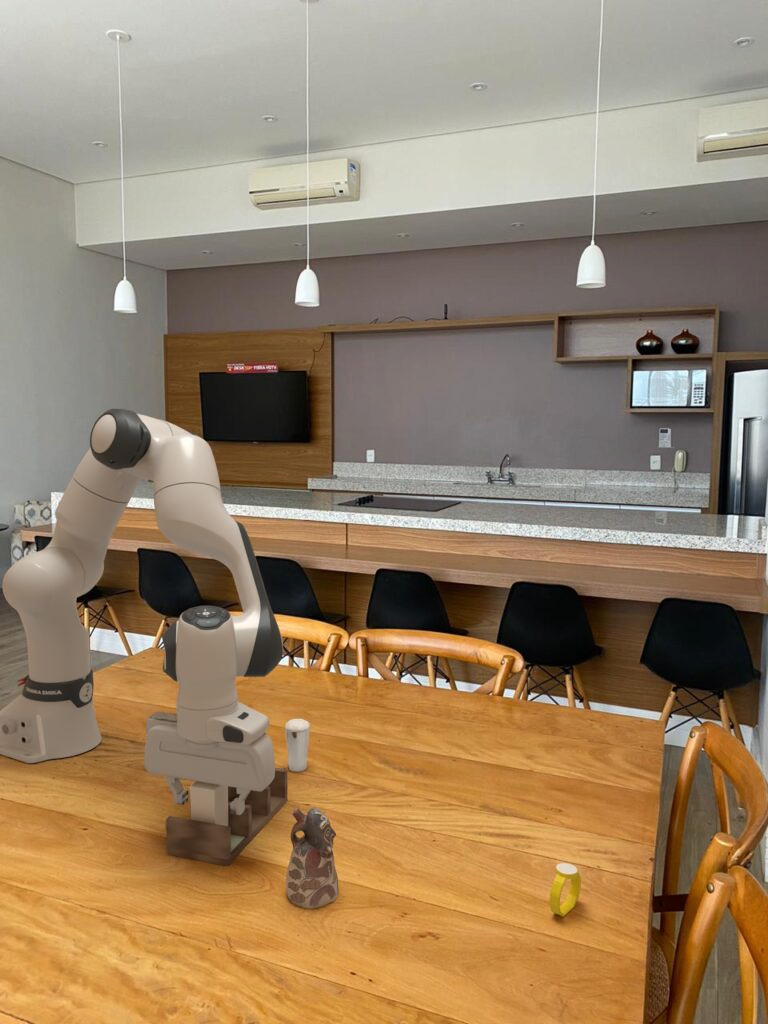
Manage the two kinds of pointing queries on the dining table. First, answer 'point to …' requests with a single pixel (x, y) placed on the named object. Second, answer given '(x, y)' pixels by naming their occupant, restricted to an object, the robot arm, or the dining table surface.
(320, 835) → the figurine
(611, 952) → the dining table surface
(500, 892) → the dining table surface
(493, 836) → the dining table surface
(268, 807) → the slot rack
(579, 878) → the watch
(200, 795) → the peg
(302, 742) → the milkshake
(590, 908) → the dining table surface
